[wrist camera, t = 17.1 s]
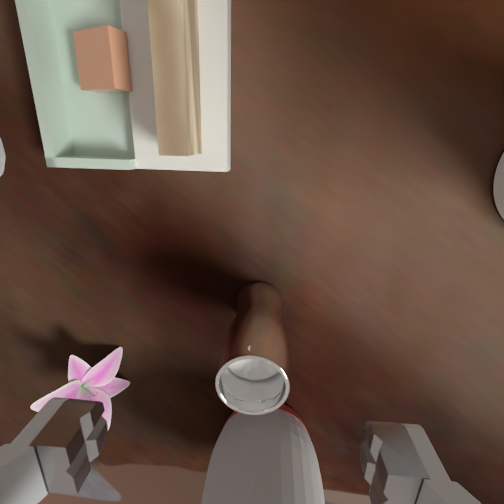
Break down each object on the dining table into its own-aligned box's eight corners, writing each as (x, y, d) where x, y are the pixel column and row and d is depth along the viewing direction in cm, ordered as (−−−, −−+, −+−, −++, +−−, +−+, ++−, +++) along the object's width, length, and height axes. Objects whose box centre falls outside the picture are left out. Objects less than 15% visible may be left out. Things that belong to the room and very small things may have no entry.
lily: (121, 406, 51) (122, 448, 42) (36, 407, 46) (18, 455, 37) (138, 336, 50) (143, 365, 41) (55, 329, 45) (40, 359, 36)
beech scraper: (196, -38, 27) (176, -85, 21) (201, 153, 33) (186, 156, 27) (168, -38, 27) (141, -85, 22) (178, 152, 33) (158, 155, 27)
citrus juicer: (214, 462, 52) (180, 644, 33) (217, 381, 46) (178, 547, 27) (307, 473, 51) (326, 664, 33) (322, 392, 45) (356, 570, 27)
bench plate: (231, -54, 28) (227, -71, 26) (230, 169, 35) (227, 171, 33) (125, -53, 29) (112, -70, 27) (145, 166, 36) (136, 168, 34)
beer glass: (226, 285, 40) (201, 363, 26) (278, 272, 39) (280, 346, 25) (242, 329, 43) (227, 422, 29) (291, 318, 41) (300, 410, 27)
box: (125, -53, 29) (103, -82, 25) (145, 166, 36) (130, 169, 32) (34, -53, 29) (-1, -81, 26) (70, 164, 36) (47, 166, 33)
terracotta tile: (126, 32, 29) (107, 25, 27) (131, 91, 31) (114, 88, 29) (91, 38, 31) (72, 32, 30) (98, 93, 33) (81, 90, 31)
